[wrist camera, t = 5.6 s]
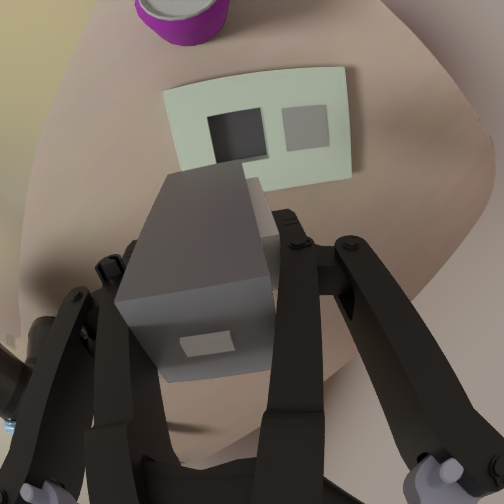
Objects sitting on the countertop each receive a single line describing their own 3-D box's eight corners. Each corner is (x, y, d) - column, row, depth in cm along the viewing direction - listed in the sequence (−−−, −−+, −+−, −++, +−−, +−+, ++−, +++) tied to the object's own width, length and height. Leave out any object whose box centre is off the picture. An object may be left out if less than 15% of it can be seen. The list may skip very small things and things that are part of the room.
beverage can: (188, 60, 26) (174, 47, 16) (142, 22, 22) (107, -4, 12) (240, 17, 23) (255, -16, 13) (193, -21, 20) (185, -66, 10)
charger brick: (186, 236, 19) (167, 386, 10) (167, 174, 17) (112, 306, 7) (252, 223, 19) (284, 371, 10) (240, 158, 17) (270, 280, 7)
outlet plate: (191, 200, 35) (190, 207, 33) (165, 90, 27) (162, 91, 25) (345, 173, 35) (352, 178, 33) (337, 67, 27) (345, 66, 26)
